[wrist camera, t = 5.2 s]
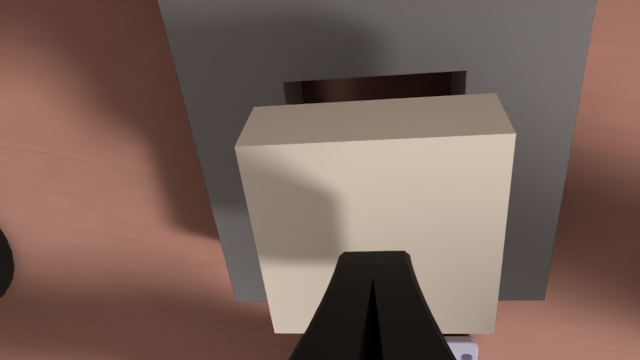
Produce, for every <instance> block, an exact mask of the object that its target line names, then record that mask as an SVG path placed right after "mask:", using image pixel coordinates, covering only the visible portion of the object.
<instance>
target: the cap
mask: <svg viewBox="0 0 640 360" xmlns="http://www.w3.org/2000/svg"><path fill="white" fill-rule="evenodd" d="M515 139H516V132H515V130H514V128H513V126H512V124H511V122H510V120H509V118H508V116H507V114H506V112H505V110H504V108H503V106H502V104H501V102H500V100H499V98H498V96H497V94H496V93H486V94H469V95H451V96H434V97H417V98H400V99H382V100H365V101H348V102H331V103H313V104H296V105H279V106H262V107H254V108H253V110H252V112H251V114H250V116H249V118H248V120H247V122H246V124H245V126H244V128H243V130H242V132H241V134H240V137H239V139H238V141H237V143H236V145H235V152H236V156H237V161H238V166H239V170H240V175H241V179H242V184H243V189H244V193H245V198H246V203H247V207H248V212H249V216H250V221H251V226H252V230H253V235H254V240H255V244H256V249H257V254H258V258H259V263H260V267H261V272H262V277H263V281H264V286H265V291H266V295H267V300H268V304H269V309H270V314H271V318H272V323H273V328H274V332H275V333H305V331H306V329H307V328H308V326H309V324H310V322H311V320H312V318H313V316H314V314H315V312H316V310H317V308H318V306H319V304H320V302H321V300H322V298H323V296H324V294H325V292H326V289H327V287H328V285H329V283H330V280H331V278H332V275H333V273H334V270H335V267H336V264H337V261H338V258H339V256H340V255H341V254H342V253H343V252H352V251H406V252H407V253H408V254H410V257H411V262H412V265H413V269H414V272H415V275H416V278H417V280H418V283H419V286H420V288H421V290H422V293H423V295H424V297H425V300H426V302H427V304H428V306H429V309H430V311H431V313H432V315H433V317H434V319H435V321H436V323H437V324H438V326H439V328H440V330H441V332H442V334H494V332H495V323H496V314H497V304H498V295H499V286H500V277H501V268H502V259H503V249H504V240H505V231H506V222H507V213H508V204H509V194H510V185H511V176H512V167H513V158H514V149H515Z"/></svg>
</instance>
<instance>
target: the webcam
mask: <svg viewBox="0 0 640 360" xmlns="http://www.w3.org/2000/svg"><path fill="white" fill-rule="evenodd" d="M13 272H14V261H13V255H12V250H11V249H10V246H9V244H8V241H7V239H6V237H5V235H4V234H3V232H2V231H1V229H0V298H1V297H2V296H3V295H4V294H5V292H6V291H7V289H8V287H9V286H10V284H11V281H12V279H13Z"/></svg>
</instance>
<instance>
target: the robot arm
mask: <svg viewBox="0 0 640 360" xmlns="http://www.w3.org/2000/svg"><path fill="white" fill-rule="evenodd" d="M289 360H478V345H477V341H476V340H475V339H474V338H472V337H467V336H443V334H442V332H441V330H440V328H439V326H438V324H437V323H436V321H435V319H434V317H433V315H432V313H431V311H430V309H429V306H428V304H427V302H426V300H425V297H424V295H423V293H422V290H421V288H420V286H419V283H418V280H417V278H416V275H415V272H414V269H413V265H412V262H411V257H410V254H408V253H407V252H406V251H352V252H343V253H342V254H341V255H340V256H339V258H338V261H337V264H336V267H335V270H334V273H333V275H332V278H331V280H330V283H329V285H328V287H327V289H326V292H325V294H324V296H323V298H322V300H321V302H320V304H319V306H318V308H317V310H316V312H315V314H314V316H313V318H312V320H311V322H310V324H309V326H308V328H307V329H306V331H305V333H304V335H303V337H302V338H301V340H300V342H299V343H298V345H297V347H296V348H295V350H294V352H293V353H292V355H291V357H290V358H289Z"/></svg>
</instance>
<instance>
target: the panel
mask: <svg viewBox="0 0 640 360" xmlns="http://www.w3.org/2000/svg"><path fill="white" fill-rule="evenodd" d="M157 1H158V5H159V8H160V12H161V16H162V20H163V24H164V28H165V31H166V35H167V39H168V43H169V47H170V51H171V54H172V58H173V62H174V66H175V70H176V74H177V77H178V81H179V85H180V89H181V93H182V97H183V100H184V104H185V108H186V112H187V116H188V120H189V123H190V127H191V131H192V135H193V139H194V143H195V146H196V150H197V154H198V158H199V162H200V165H201V169H202V173H203V177H204V181H205V185H206V188H207V192H208V196H209V200H210V204H211V208H212V211H213V215H214V219H215V223H216V227H217V231H218V234H219V238H220V242H221V246H222V250H223V254H224V257H225V261H226V265H227V269H228V273H229V277H230V280H231V284H232V288H233V292H234V296H235V300H236V302H268V300H267V295H266V291H265V286H264V281H263V277H262V272H261V267H260V263H259V258H258V254H257V249H256V244H255V240H254V235H253V230H252V226H251V221H250V216H249V212H248V207H247V203H246V198H245V193H244V189H243V184H242V179H241V175H240V170H239V166H238V161H237V156H236V152H235V145H236V143H237V141H238V139H239V137H240V134H241V132H242V130H243V128H244V126H245V124H246V122H247V120H248V118H249V116H250V114H251V112H252V110H253V108H254V107H262V106H279V105H296V104H304V100H303V92H302V84H301V81H310V80H326V79H341V78H357V77H373V76H388V75H404V74H419V73H435V72H451V71H452V73H451V95H469V94H486V93H496V94H497V96H498V98H499V100H500V102H501V104H502V106H503V108H504V110H505V112H506V114H507V116H508V118H509V120H510V122H511V124H512V126H513V128H514V130H515V132H516V139H515V149H514V158H513V167H512V176H511V185H510V194H509V204H508V213H507V222H506V231H505V240H504V249H503V259H502V268H501V277H500V286H499V295H498V300H544V299H545V294H546V288H547V282H548V276H549V271H550V265H551V259H552V253H553V248H554V242H555V236H556V231H557V225H558V219H559V213H560V208H561V202H562V196H563V190H564V185H565V179H566V173H567V168H568V162H569V156H570V150H571V145H572V139H573V133H574V127H575V122H576V116H577V110H578V105H579V99H580V93H581V87H582V82H583V76H584V70H585V64H586V59H587V53H588V47H589V42H590V36H591V30H592V24H593V19H594V13H595V7H596V1H597V0H157Z"/></svg>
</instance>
